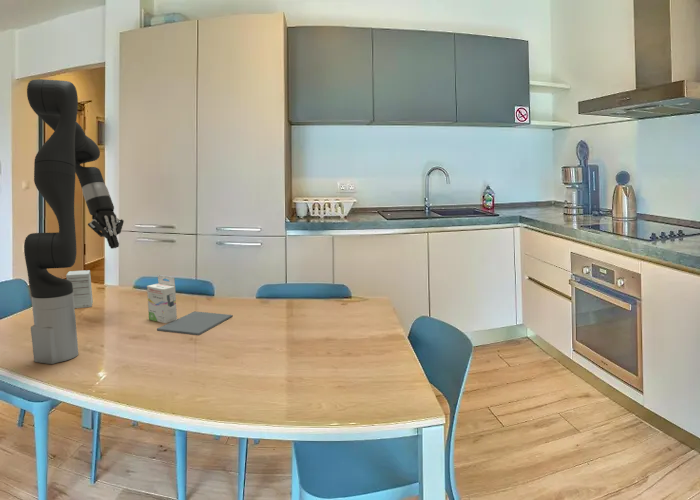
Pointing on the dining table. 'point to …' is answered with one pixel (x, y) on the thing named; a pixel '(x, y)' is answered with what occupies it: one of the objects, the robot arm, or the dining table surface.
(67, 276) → the supplement box
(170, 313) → the ink box
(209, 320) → the mat
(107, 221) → the robot arm
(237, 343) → the dining table surface
